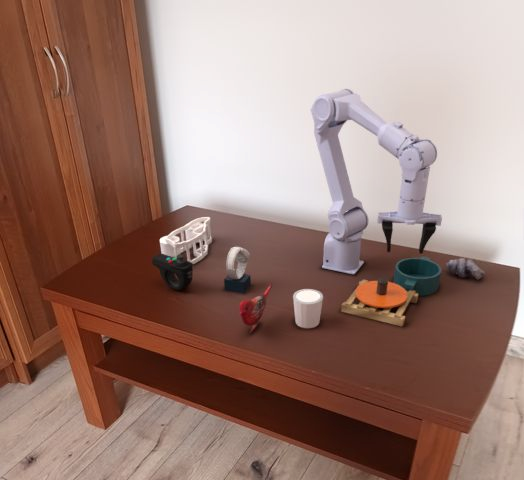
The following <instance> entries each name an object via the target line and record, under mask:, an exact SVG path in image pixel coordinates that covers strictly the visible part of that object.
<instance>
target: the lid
mask: <svg viewBox="0 0 524 480" xmlns="http://www.w3.org/2000/svg"><path fill="white" fill-rule="evenodd" d="M356 288H357V289H356ZM356 288H355V290H356V297H357V298H356V299H357V300H358V301H359V302H360V301H361V302H362V303H364V304H366V305H365V306H368V307H371V306H372V307H377V309H384V308H392V309H393V308H396V307H400V305H402V304H403V303H404V302H405V301H406V300H407V296H408V295H407V292H406V290H405V289H404V288H403V287H401V286H400V285H398V284H395V283H393V282H391V281H389V279H388V278H385V277H380V278H378V279H377V280H370V281H368V282H366V283H363V284H361V285H360V286H358V285H357V287H356Z"/></svg>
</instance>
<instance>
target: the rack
mask: <svg viewBox="0 0 524 480" xmlns="http://www.w3.org/2000/svg"><path fill="white" fill-rule="evenodd" d="M366 282H369V280H367V279H362V280H359V281H358V283H357V287H358V286H360V285H361V284H363V283H366ZM357 287H356V288H355V289H354V291H353V292H352V293H351V295H350V296H349V297H348V299H347V300H346V301H343V303H341V307H340V308H341V310H340V312H341V313H345V314H349V315H353V316H357V317H362V318H365V319H370V320H373V321H378V322H381V323H385V324H390V325H394V326H397V327H403V326H404V325H405V323H406V316H405V315H404V313H405V312H406V310H407V308H408V306H409V304H410V303H411V304H417V302H418V300H419V296H418V293H415V292H416V291H415V290H410V291H406V292H407V295H408V296H407V300H406V301H405V302H404V303H403V304H402V305H399V306H398V308H397V310H396V312H395V313H394V312H391V310H392V309H393V307H392V308H382V309H383V310H381V309H378V308H377V307H372V306H367V305H366V304H364V303H362V302H361V301H360V300H359V302H358V304H357V303H355V301H356V300H357V299H358V298H357V297H356V289H357Z"/></svg>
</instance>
